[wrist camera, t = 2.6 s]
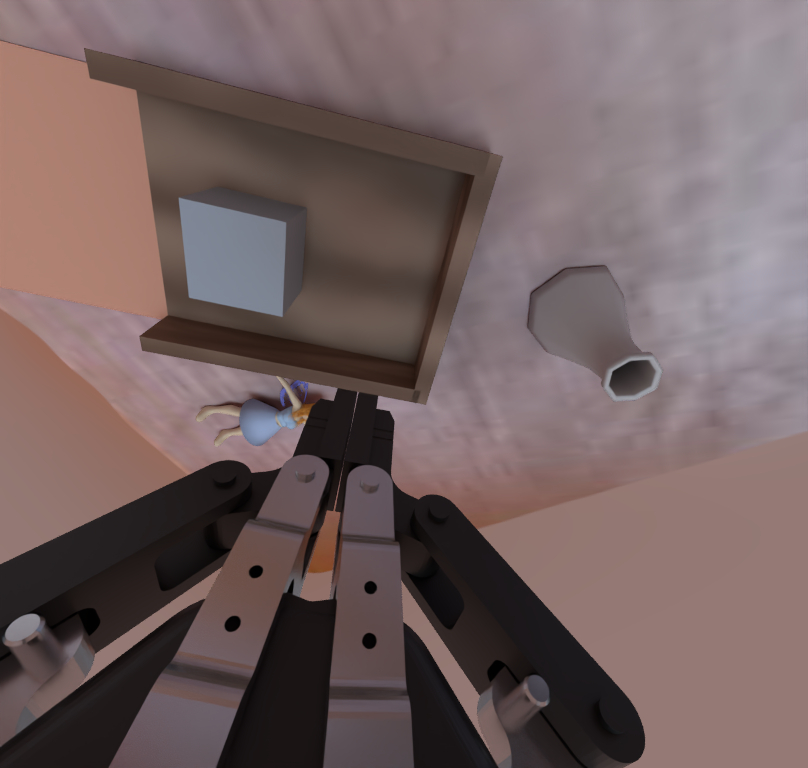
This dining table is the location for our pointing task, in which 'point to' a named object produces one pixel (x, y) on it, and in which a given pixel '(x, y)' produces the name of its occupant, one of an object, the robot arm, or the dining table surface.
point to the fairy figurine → (261, 416)
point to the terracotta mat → (74, 187)
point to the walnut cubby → (313, 230)
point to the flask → (593, 331)
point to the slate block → (243, 249)
